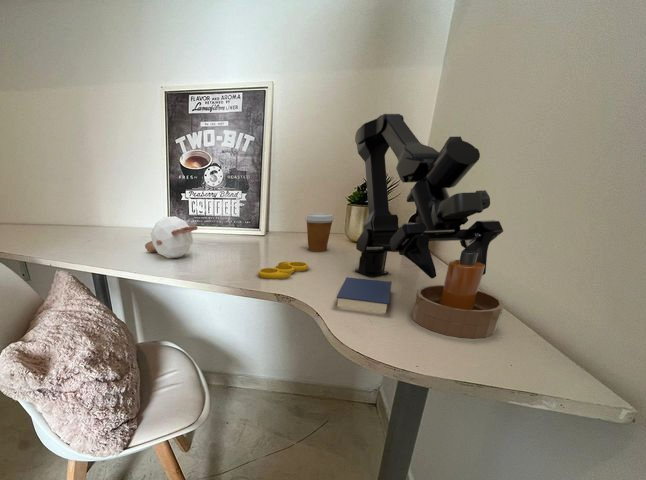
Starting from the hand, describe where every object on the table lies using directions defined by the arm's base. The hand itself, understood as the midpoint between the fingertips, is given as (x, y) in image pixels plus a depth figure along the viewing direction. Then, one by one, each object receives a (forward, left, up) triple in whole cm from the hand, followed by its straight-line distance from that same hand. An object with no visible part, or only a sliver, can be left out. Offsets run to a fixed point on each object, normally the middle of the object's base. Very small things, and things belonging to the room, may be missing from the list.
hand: (458, 276), depth 59 cm
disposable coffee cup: (-15, -60, -9) cm, 63 cm away
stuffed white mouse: (+34, -76, -9) cm, 84 cm away
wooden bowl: (0, +1, -9) cm, 9 cm away
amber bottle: (0, +1, -8) cm, 8 cm away
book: (+6, -15, -9) cm, 19 cm away
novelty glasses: (+10, -42, -9) cm, 45 cm away
